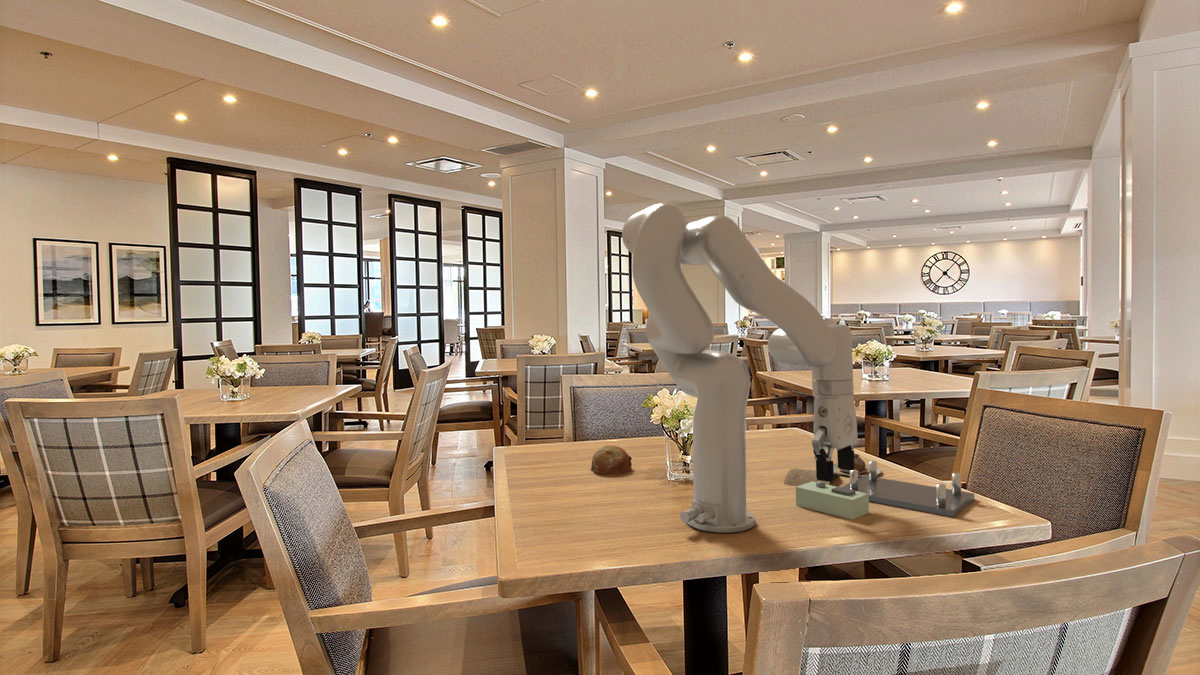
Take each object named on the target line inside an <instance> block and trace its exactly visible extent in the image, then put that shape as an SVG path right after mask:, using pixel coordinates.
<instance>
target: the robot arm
mask: <svg viewBox="0 0 1200 675" xmlns="http://www.w3.org/2000/svg"><path fill="white" fill-rule="evenodd" d="M621 239H622V243H623V245H624V247H625V248H626V250H628V252H630V253H631V254H632V262H631V264H632V265H631V266H632V267H631V269H632V270H631V271H632V280H633V282H634V286H635V289H636V290H637V293H638V294H639V296H640V298H641V300H642V302H643V303H644V305H645V307H646V308H647V311H648V312H649V315H648V316H647V319H646V322H645V333H646V338H647V340H648V343H649V345H650V347H651V349H652V350H653V352H654V353H655V355H656V356H657V358H658V359H659V361H660V362H661V364H662V366H663V367H664V368H665V370H666V372H667V373H668V375H669V376H670V378H671V380H673V382H674V383H675V385H676V387H678V388H679V390H681V391H682V392H683V393H684V394H686V395H688V396H691V397H693V398H697V399H696V405H695V410H694V413H693V420H692V450H693V451H692V452H693V453H692V456H693V458H692V459H693V460H692V461H693V466H692V468H693V469H692V470H693V474H692V475H693V499H692V500H691V507H690V508H689V509H686V510H685V511H682V512H681V513H680V514H679V517H680V520H681V521H682V522H683V523H685V524H686V523H687V524H688V526H690V527H692V528H694V529H697V530H699V531H700V530H701V531H703V532H710V533H719V534H726V533H727V534H728V533H738V532H739V533H741V532H745V531H747V530H749V529H751V528H753V527H754V526H755V523H756V518H755V515H754V514H753V513H751V512H750V511H749V510H747V459H746V458H747V451H746V450H747V448H746V444H747V441H746V423H747V422H746V420H747V418H746V417H747V406H748V400H749V396H750V395H749V394H750V388H751V375H750V371H749V369H748V367H747V365H746V363H745V362H744V360H743V359H741V357H739V356H738V355H736V354H734V353H732V352H728V351H724V350H715V349H709V346H710V345H711V344H712V342H713V340H714V337H715V327H714V324H713V321H712V320H711V317H710V316H709V314H708V313H707V311H706V308H704V306H703V305H702V303H701V301H700V300H699V299H698V297H697V295H696V293H695V292H694V290H693V289H692V287H691V286H690V284H689V282H688V280H687V279H686V277H685V275H684V273H683V270H682V266H681V265H689V266H690V265H691V266H701V265H703V266H704V265H707V266H708V268H709V269H710V270H711V271H712V274H714V276H715V277H716V278H717V280H718V281H719V282H720V283H721V284H722V286H723V287H724V289H725V290H726V291H727V292H728V294H729V295H730V296H731V299H733V301H734V302H735V303H737V305H739V306H740V307H742V308H744V309H746V310H748V311H750V312H753V313H754V314H757V315H759V316H762V317H763V318H765V319H767V320H768V321H770V322H771V323H773V324H774V325H775V326H777V327H778V328H777V329H776V330H775V331H773V332H772V334H770V336H769V338H768V341H767V349H768V350H767V351H768V352H769V355H770V356H771V357H772V358H773V360H775V361H777V362H779V363H781V364H783V365H784V364H785V365H789V366H796V367H797V366H800V367H808V368H811V378H812V379H811V380H812V383H811V386H812V388H811V389H812V396H813V397H814V403H813V405H814V406H813V438H812V439H811V445H812V448H813V454H814V459H815V471H816V477H817V480H821V481H827V482H830V483H833V482H834V481H835V477H834V467H833V464H834V460H832V457H833V454H834V451H835V450H837V451H836V452H837V454H836V455H837V463H838V468H839V469H846V470H854V469H855V464H854V454H855V450H854V449H855V443H856V442H857V440H858V425H857V424H858V422H857V410H856V405H855V404H856V403H855V399H854V396H855V391H854V365H853V364H854V362H853V361H854V360H853V340H852V339H853V337H852V336H853V335H852V330H851V328H850V326H849V325H847V324H839V323H838V324H837V323H836V324H834V323H833V324H828V323H827V321H826V320H825V319H824V318H823V316H822V315H821V313H820V312H819V311H818V309H817V308H816V307H815V306H814V305H813V304H812V303H811V302H810V301H809V300H808V299H807V298H806V297H805V296H803V294H800V293H799V292H798V291H796V290H795V289H794V288H793V287H792V286H790V285H789V284H788V283H786V282H785V281H783V280H782V279H780V278H779V277H777V276H776V275H775V273H774V272H772V270H771V269H770V268H769V266H768V265H767V264H766V262H765V261H764V260H763V258H762V257H761V256H760V254H759V252H758V251H757V250H756V248H754V246H753V245H752V243H751V241H749V239H748V237H747V236H746V235H745V233H743V230H742V229H741V228H740V227H739V226H738V224H737V223H736V222H735V221H734V220H733V219H732V218H730V217H729V216H726V215H721V214H718V215H711V216H708V217H704V218H701V219H699V220H686V217H685V215H684V213H683V212H682V210H681V209H680V208H679V207H678V206H677V205H675V204H673V203H669V202H661V203H660V202H659V203H656V204H653V205H651V206H648V207H646V208H644V209H642V210H640V211H638V212H636V213H634V214H632V215H631V216H630V217H629V218H627V220H626V222H625V223H624V225H623V227H622V231H621ZM826 450H827V451H826ZM839 469H838V470H839Z"/></svg>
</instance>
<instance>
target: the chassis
mask: <svg viewBox="0 0 1200 675" xmlns="http://www.w3.org/2000/svg"><path fill="white" fill-rule="evenodd" d="M868 465H869V471H868V475H869V476H865V475H866V474H864V476H862V477H858V470H850V474H849V475H850V476H849V483H847V484H844V485H843V486H841V487H842V488H846V489H851V490H855V491H859V492H863V493H868V494H869V503H870V502H871V503H875V504H882V505H887V506H892V507H898V508H903V509H908V510H912V511H919V512H924V513H929V514H934V515H940V516H944V517H945V516H946V517H949V518H955V517H956V516H957V515H958V514H959V513H960V512H962V511H963V510H964V509H965V508H966V507H967V506H969V504H971V503H972V502H973V501H974V500H975V492H968V491H962V473H960V472H959V473H958V472H952V473H951V489H948V488H947V485H946V484H945V483H936V486H932V485H931V486H930V485H925V484H921V483H920V484H919V483H913V482H909V481H908V482H906V481H900V480H895V479H888V478H884V477H883V478H882V477H878V475H877V468H878V461H876V460H869V461H868Z"/></svg>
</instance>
